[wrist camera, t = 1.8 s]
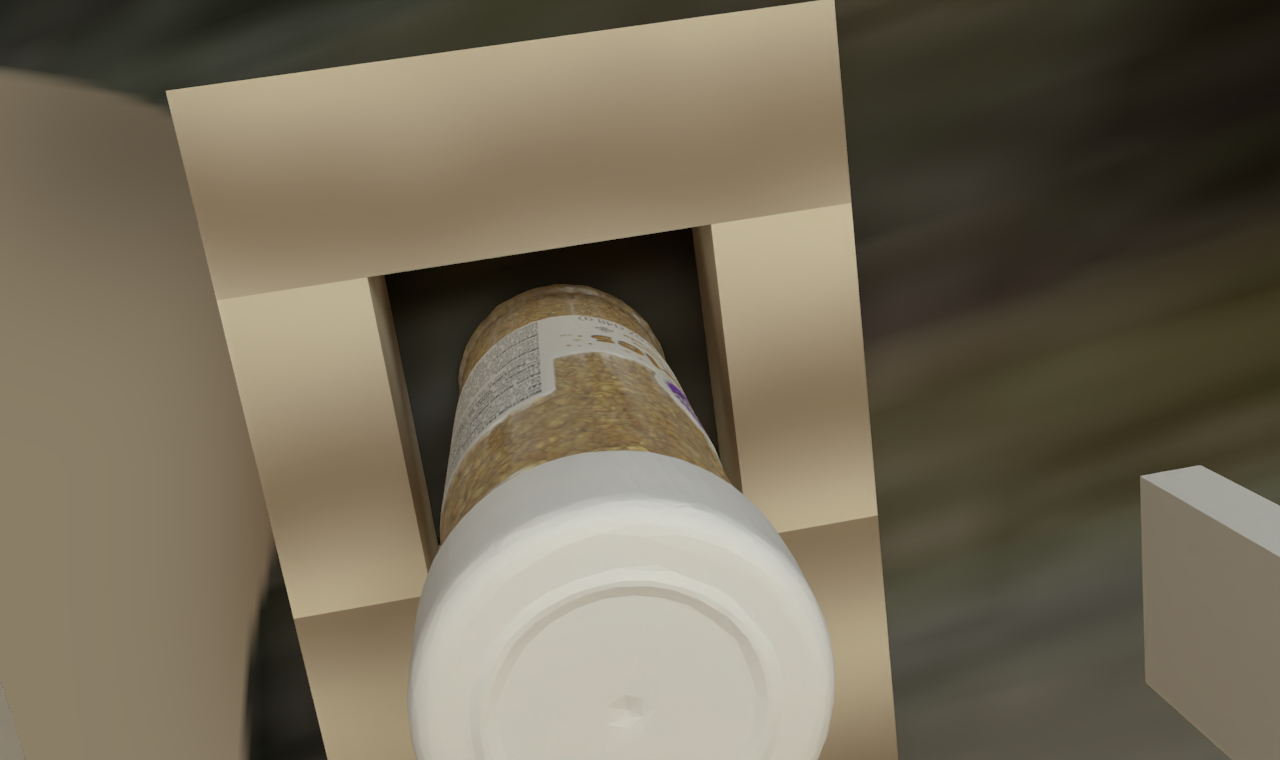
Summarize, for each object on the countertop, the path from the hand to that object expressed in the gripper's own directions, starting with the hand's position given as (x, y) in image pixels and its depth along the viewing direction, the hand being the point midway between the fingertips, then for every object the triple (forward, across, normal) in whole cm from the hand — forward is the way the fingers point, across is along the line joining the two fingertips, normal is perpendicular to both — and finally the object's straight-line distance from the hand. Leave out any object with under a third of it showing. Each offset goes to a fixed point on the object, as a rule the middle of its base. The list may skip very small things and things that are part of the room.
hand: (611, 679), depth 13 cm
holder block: (+12, 0, -3) cm, 12 cm away
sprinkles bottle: (+12, 0, +1) cm, 12 cm away
